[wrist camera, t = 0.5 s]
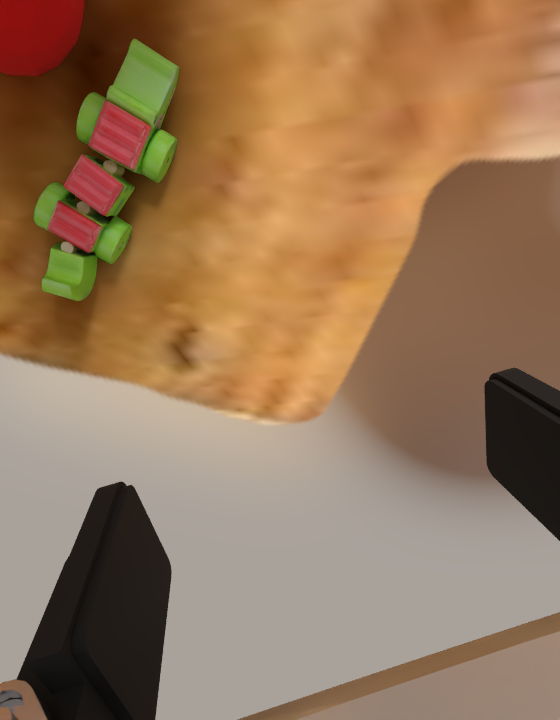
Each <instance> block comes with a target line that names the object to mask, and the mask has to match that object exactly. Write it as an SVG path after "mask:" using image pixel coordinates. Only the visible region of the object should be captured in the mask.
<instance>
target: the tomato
mask: <svg viewBox="0 0 560 720" xmlns="http://www.w3.org/2000/svg"><path fill="white" fill-rule="evenodd" d="M84 4H85V0H0V72H1V73H4V74H7V75H10V76H40V75H42V74H44V73H46V72H47V71H49V70H51V69H53V68H55V67H57V66H59V65H60V64H61V63H62V62H63V60H64V59H65V58H66V57H67V55H68V54H69V53H70V51H71V50H72V49H73V47H74V46H75V45H76V43H77V41H78V38H79V34H80V31H81V27H82V22H83V13H84Z"/></svg>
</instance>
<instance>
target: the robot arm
mask: <svg viewBox="0 0 560 720" xmlns="http://www.w3.org/2000/svg"><path fill="white" fill-rule="evenodd" d="M485 419H486V451H487V452H486V455H487V466H488V469H489V471H490V473H491V474H492V476H493V477H494V478H495V479H496V480H497V481H498V482H499V483H500V484H501V485H503V487H504V488H506V489H507V490H508V491H509V492H510V493H511V494H512V495H513V496H514V497H515V498H516V499H517V500H518V501H519V502H520V503H521V504H522V505H523V506H524V507H525V508H526V509H527V510H528V511H529V512H530V513H531V514H532V515H534V517H536V518H537V519H538V520H539V521H540V522H541V523H542V524H543V525H544V526H545V527H546V528H547V529H548V530H549V531H550V532H551V533H552V534H553V535H554V536H555V537H556V538H557V539H558V540H559V541H560V391H559V390H557V389H555V388H553V387H551V386H549V385H547V384H546V383H544V382H542V381H540V380H538V379H536V378H534V377H532V376H531V375H529V374H527V373H525V372H523V371H521V370H519V369H517V368H511V369H507V370H504V371H501V372H497V373H493V374H492V375H491V376H490V378H489V381H487V382H486V383H485ZM170 583H171V565H170V561H169V559H168V557H167V554H166V553H165V551H164V548H163V546H162V544H161V542H160V540H159V538H158V536H157V534H156V532H155V530H154V527H153V525H152V523H151V521H150V519H149V517H148V515H147V513H146V511H145V509H144V507H143V505H142V502H141V500H140V498H139V496H138V494H137V492H136V490H135V488H134V487H133V486H132V485H129V486H126V484H125V483H124V482H118V483H115V484H111V485H108V486H104V487H101V488H99V489H97V491H96V492H95V495H94V497H93V500H92V502H91V505H90V507H89V510H88V512H87V514H86V517H85V519H84V522H83V524H82V527H81V529H80V531H79V534H78V536H77V539H76V541H75V544H74V546H73V549H72V551H71V553H70V556H69V557H68V559H67V560H66V562H65V564H64V567H63V569H62V572H61V574H60V576H59V579H58V581H57V583H56V586H55V588H54V591H53V593H52V596H51V598H50V600H49V603H48V605H47V608H46V610H45V612H44V615H43V617H42V620H41V622H40V624H39V627H38V629H37V632H36V634H35V636H34V639H33V641H32V644H31V646H30V648H29V651H28V653H27V656H26V658H25V661H24V663H23V665H22V668H21V670H20V673H19V675H18V677H17V680H11V681H7V682H3V683H1V684H0V720H155V716H156V707H157V698H158V690H159V681H160V672H161V663H162V654H163V644H164V636H165V628H166V618H167V610H168V609H167V608H168V601H169V592H170ZM238 720H560V612H559V613H556V614H553V615H550V616H547V617H544V618H541V619H537V620H534V621H531V622H528V623H525V624H522V625H519V626H516V627H513V628H510V629H507V630H504V631H501V632H498V633H495V634H492V635H489V636H486V637H482V638H480V639H477V640H473V641H471V642H467V643H464V644H462V645H458V646H455V647H452V648H449V649H447V650H443V651H440V652H437V653H434V654H431V655H428V656H425V657H422V658H419V659H416V660H413V661H410V662H407V663H404V664H401V665H398V666H395V667H392V668H389V669H386V670H383V671H380V672H377V673H374V674H371V675H368V676H365V677H362V678H359V679H356V680H353V681H350V682H347V683H344V684H341V685H339V686H336V687H332V688H329V689H326V690H324V691H321V692H318V693H315V694H312V695H309V696H306V697H303V698H300V699H297V700H294V701H291V702H288V703H285V704H282V705H279V706H276V707H273V708H270V709H268V710H264V711H262V712H259V713H256V714H253V715H250V716H247V717H244V718H241V719H238Z"/></svg>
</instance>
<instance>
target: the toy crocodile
mask: <svg viewBox="0 0 560 720" xmlns="http://www.w3.org/2000/svg"><path fill="white" fill-rule="evenodd" d="M178 75H179V67H178V66H177V65H175V64H174V63H172V62H171V61H169V60H167V59H166V58H164V57H163V56H161V55H160V54H158V53H157V52H155V51H154V50H152V49H151V48H149V47H147V46H146V45H144V44H143V43H141V42H140V41H138V40H137V39H135V38H134V39H133V40H132V42H131V43H130V46H129V50H128V52H127V55H126V57H125V60H124V62H123V64H122V66H121V69H120V71H119V73H118V75H117V77H116V79H115V81H114V84H113V85H111V86H110V87H109V88H108V91H107V96H106V98H105V97H103V96H101V95H99V94H97V93H96V92H91V93H90V94H88V96H87V97H86V98H85V100H84V101H83V103H82V105H81V108H80V110H79V114H78V118H77V124H76V134H77V137H78V139H79V140H80V141H81V142H83V143H85V144H87V145H88V146H89V147H90V148H91V149H93V150H94V151H96V152H98V153H99V154H100V155H103V156H105V157H106V158H108V159H107V160H106V161H105V162H104V163H103V162H102V161H101V160H100V159H98V158H95V157H92V156H89V155H85V154H84V155H83V154H82V155H81V156H80V158H79V160H78V161H77V163H76V164H75V166H74V168H73V169H72V171H71V173H70V175H69V177H68V178H67V180H66V181H65V183H64V185H62V184H60V183H58V182H53V183H51V184H49V185H48V186H47V187H46V188H45V190H44V191H43V192H42V194H41V195H40V197H39V199H38V202H37V204H36V207H35V210H34V222H35V224H37V225H38V226H40V227H41V228H43V229H45V230H47V231H49V232H51V233H54V234H55V235H57V236H59V237H61V238H63V239H65V240H66V241H64V242H62V243H56V244H55V245H54V246H53V247H52V248H51V250H50V257H49V264H48V269H47V272H46V275H45V277H44V278H42V286H41V287H42V290H43V291H44V292H47V293H51V294H54V295H58V296H61V297H65V298H68V299H72V300H75V301H81V300H83V299H85V298H86V297H87V296H88V295H89V294H90V292H91V290H92V288H93V285H94V282H95V278H96V271H97V261H98V257H99V258H100V259H102V260H104V261H105V262H107V263H109V264H113V263H114V262H115V261H116V260H117V259H118V258H119V256H120V255H121V253H122V252H123V250H124V248H125V247H126V245H127V243H128V241H129V238H130V236H131V233H132V226H131V225H129V224H128V223H126V222H125V221H123V220H121V219H120V218H118V217H117V215H118V213H119V212H120V210H121V209H122V207H123V206H124V204H125V203H126V201H127V200H128V198H129V197H130V195H131V193H132V192H133V191H134V189H135V187H134V186H133V185H132V184H130V183H129V182H128V181H126V180H125V179H124V178H122V175H123V174H124V171H125V169H124V167H125V168H127V169H129V170H131V171H133V172H135V173H138V174H143V175H144V176H146V177H148V178H149V179H151V180H153V181H155V182H157V183H159V182H160V181H161V180H162V179H163V177H164V176H165V174H166V172H167V170H168V168H169V166H170V164H171V161H172V159H173V156H174V154H175V151H176V147H177V139H176V138H175V137H174V136H172V135H170V134H169V133H167V132H166V131H164V130H162V129H160V127H161V124H162V122H163V119H164V117H165V114H166V111H167V109H168V106H169V104H170V101H171V99H172V96H173V94H174V91H175V89H176V86H177V79H178ZM75 196H77V197H78V198H80V199H81V200H82V201H80V202H77V201H75ZM98 212H99V213H100V214H102V215H104V216H114V218H113V219H111V220H110V221H109V220H108V219H106V218H104V217H103V216H101V215H99V214H98ZM92 251H94V252H95V253H93V252H92Z"/></svg>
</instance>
